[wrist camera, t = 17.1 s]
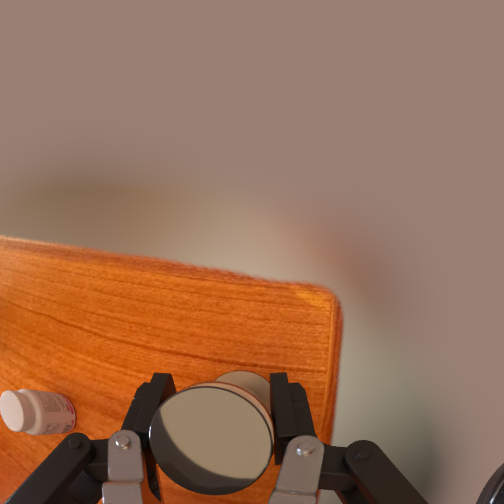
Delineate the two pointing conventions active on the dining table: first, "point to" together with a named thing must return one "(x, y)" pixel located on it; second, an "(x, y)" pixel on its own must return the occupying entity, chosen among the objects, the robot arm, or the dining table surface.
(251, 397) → the spice bottle
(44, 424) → the pill bottle
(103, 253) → the dining table surface
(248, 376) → the coaster
